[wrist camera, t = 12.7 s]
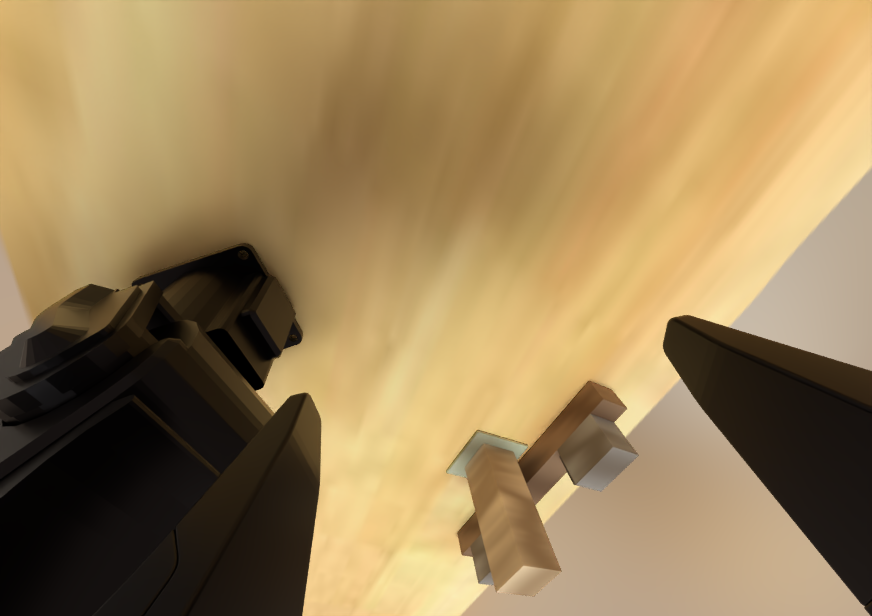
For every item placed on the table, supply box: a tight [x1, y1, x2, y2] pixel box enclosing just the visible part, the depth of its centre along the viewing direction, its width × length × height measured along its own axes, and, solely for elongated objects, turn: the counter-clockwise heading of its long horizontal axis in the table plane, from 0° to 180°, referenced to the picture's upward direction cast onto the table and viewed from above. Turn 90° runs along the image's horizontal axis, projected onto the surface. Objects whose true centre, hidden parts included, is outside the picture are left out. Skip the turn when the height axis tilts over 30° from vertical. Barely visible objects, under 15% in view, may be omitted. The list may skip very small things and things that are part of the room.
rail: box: [446, 381, 639, 585], centre depth 29 cm, size 20×8×5 cm, turn 151°
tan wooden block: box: [465, 443, 562, 596], centre depth 27 cm, size 3×3×9 cm
